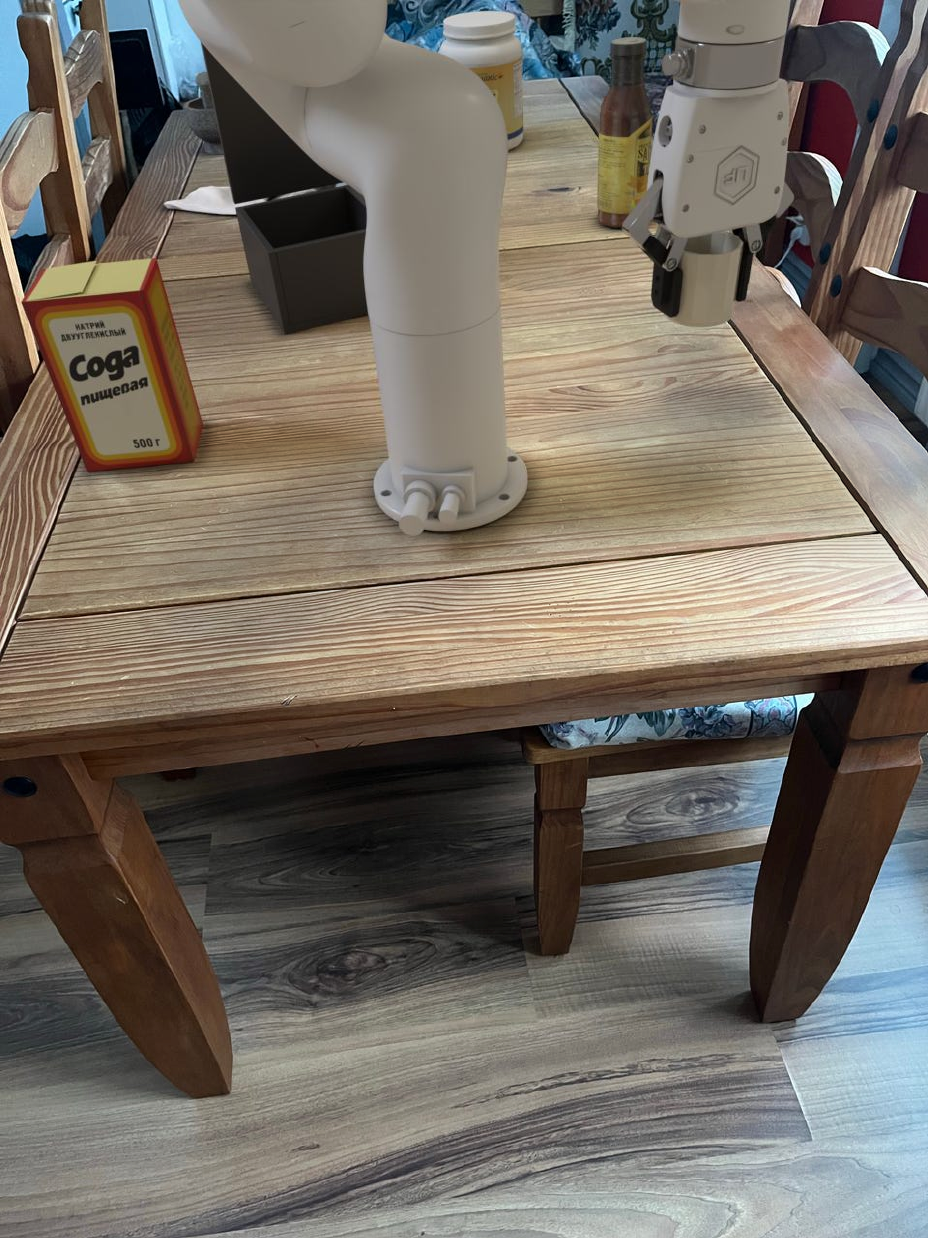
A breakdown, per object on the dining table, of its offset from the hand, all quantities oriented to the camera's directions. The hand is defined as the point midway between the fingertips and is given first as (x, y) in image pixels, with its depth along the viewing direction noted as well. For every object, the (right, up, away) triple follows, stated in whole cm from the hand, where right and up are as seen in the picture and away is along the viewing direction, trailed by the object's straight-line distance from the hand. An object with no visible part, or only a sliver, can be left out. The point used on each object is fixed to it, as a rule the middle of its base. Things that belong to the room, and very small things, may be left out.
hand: (698, 301), depth 82 cm
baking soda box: (-49, -11, +6) cm, 51 cm away
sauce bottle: (0, +23, +40) cm, 46 cm away
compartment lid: (-40, +27, +22) cm, 53 cm away
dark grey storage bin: (-36, +10, +29) cm, 47 cm away
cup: (0, -1, +1) cm, 1 cm away
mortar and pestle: (-59, +49, +75) cm, 107 cm away
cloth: (-50, +33, +55) cm, 81 cm away
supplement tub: (-17, +46, +67) cm, 83 cm away
